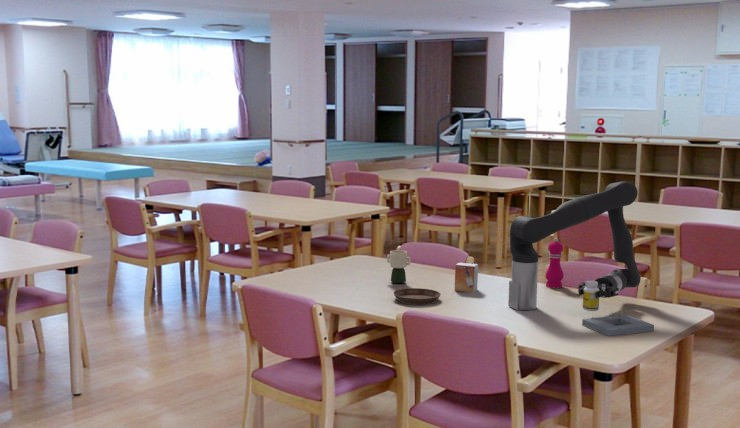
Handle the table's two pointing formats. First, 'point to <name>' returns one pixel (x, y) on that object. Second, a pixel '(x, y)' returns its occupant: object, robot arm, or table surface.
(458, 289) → the small box
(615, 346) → the table surface
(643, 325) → the hole board
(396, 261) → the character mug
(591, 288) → the supplement bottle
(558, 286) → the pepper mill
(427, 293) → the plant saucer
